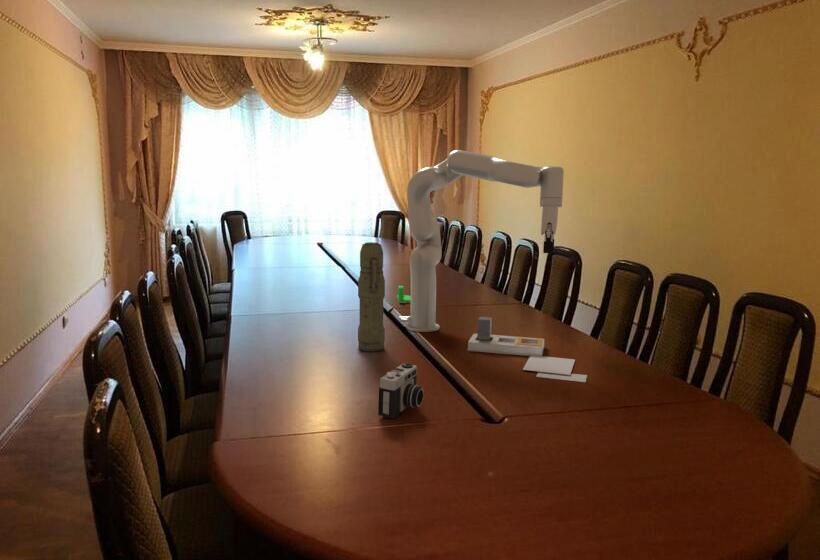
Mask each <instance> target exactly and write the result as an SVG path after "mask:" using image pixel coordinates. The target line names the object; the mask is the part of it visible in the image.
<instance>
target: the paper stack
mask: <svg viewBox="0 0 820 560" xmlns="http://www.w3.org/2000/svg"><path fill="white" fill-rule="evenodd" d="M575 362H576V359H573V358H562V357H553V356H545V355H544V356H543V355H542V356H536V355H531V356H528V360H526V363H525V364H524V366H523V367H522V370H523V371H531V372H537V374H536V376H535V377H536V378H544V379H552V380H562V381H570V382H579V383H580V382H581V383H586V382H587V378H588V374H579V373H572V371H573V367H574V365H575Z"/></svg>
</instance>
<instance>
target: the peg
mask: <svg viewBox="0 0 820 560" xmlns="http://www.w3.org/2000/svg"><path fill="white" fill-rule="evenodd" d="M492 318H493V317H489V316H479V317H478V319H477V334H478V340H481V341H491V335H492V322H493V321H492V320H493V319H492Z"/></svg>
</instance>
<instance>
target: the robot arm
mask: <svg viewBox="0 0 820 560" xmlns="http://www.w3.org/2000/svg"><path fill="white" fill-rule="evenodd" d="M564 172H565V171H564V168H563V167H562V166H553V165H552V166H536V165H529V164H523V163H518V162H515V161H509V160H505V159H501V158H499V157H496V156H493V155H487V154H484V153H483V154H482V153H477V152H473V151H472V152H471V151H467V150H461V149H454V150H452V151H450V153H449V154H448V155H447V158H446V159H445V160H443V161H442V162H440V163H438V164H436V165H435V166H427V167H424V168H421V169H419V170H418V171H416V172H415V173H414V174H413V175H412V176H411V178H410V180H409V182H408V184H407V190H406V193H407V194H406V195H407V196H406V198H407V210H408V212H407V213H408V222H409V224H408V226H409V234H410V236H411V237H412V239H414V240H415V241H416V247H415V248H413V250H412V251H411V253H410V257H409V271H410V272H409V273H410V297H411V303H410V305H409V306H410V307H409V308H410V309H409V310H410V311H409V313H410V315H408V316H405V315H403V316H402V315H399V322H401V323H406V325H405V328H406V329H407V330H409V331H411V332H417V333H430V332H437V331H438V330H440V325H439V323H436V320H437V319H436V317H437V315H436V314H437V310H436V309H437V270H436V266H437V265H438V264H439V263H440V261H441V259H442V253H443V251H442V239H441V228H440V223H439V221H438V220H437V218H436V217H435V216H433V214H432V201H431V196H430V195H431V192H432V191H438V190H441V189H444V188H445V187H446V186H449V185H450V184H451V183H453V182H455V181H456V180H458V179H460V178H462V177H463V176H465V177H471V178H475V179H479V180H485V181H489V182H495V183H496V182H497V183H502V184H507V185H512V186H516V187H517V186H518V187H520V188H521V187H522V188H526V189H529V188H531V189H532V188H536V187H540V193H539V194H540V196H539V207H540V208H542V212H541V226H540V227H541V228H540V235H541V236H543V235H544V240H543V250H542V251H543V252H542V253H543V254H553V252H554V250H555V236H556V232H557V227H558V219H559V218H558V217H559V216H558V215H559V208H562V207H563V194H564V193H563V191H564V190H563V189H564Z"/></svg>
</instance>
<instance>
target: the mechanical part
mask: <svg viewBox="0 0 820 560" xmlns="http://www.w3.org/2000/svg"><path fill="white" fill-rule="evenodd" d="M404 292H405V291H404V285H398V287H397V295H396V300H397V299H398V300H397V302H398V301H399V302H411V295H409V294H408V295H407V294H404Z"/></svg>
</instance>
